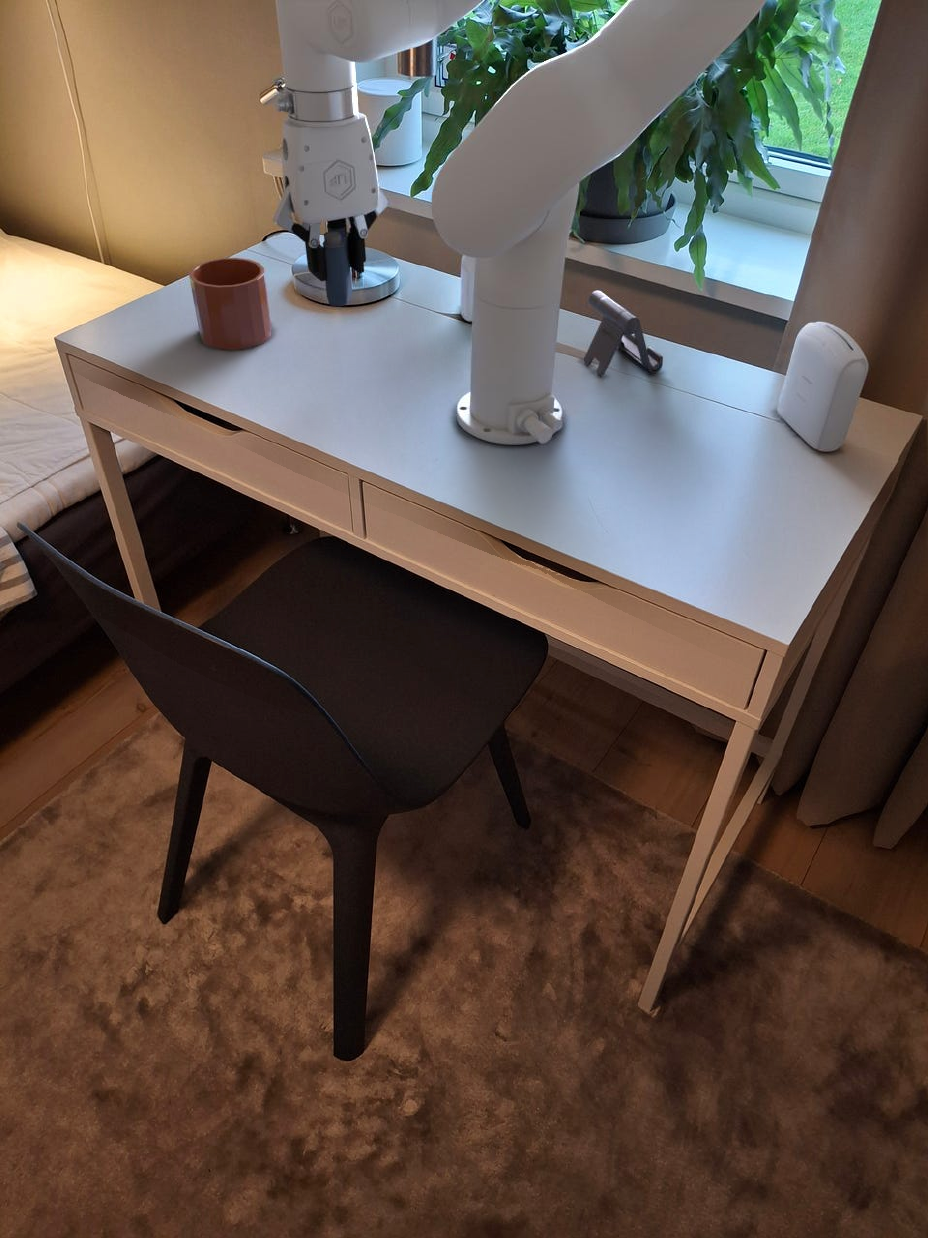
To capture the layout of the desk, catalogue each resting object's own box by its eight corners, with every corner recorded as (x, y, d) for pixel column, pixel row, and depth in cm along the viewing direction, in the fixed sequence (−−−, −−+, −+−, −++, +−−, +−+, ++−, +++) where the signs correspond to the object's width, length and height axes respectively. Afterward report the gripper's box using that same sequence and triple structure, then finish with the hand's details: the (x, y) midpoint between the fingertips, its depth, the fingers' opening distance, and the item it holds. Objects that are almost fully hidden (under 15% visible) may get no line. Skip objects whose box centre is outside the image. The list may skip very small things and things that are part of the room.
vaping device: (354, 290, 115) (346, 188, 107) (346, 307, 111) (337, 203, 103) (334, 289, 115) (325, 188, 107) (325, 306, 111) (315, 202, 104)
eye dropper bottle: (450, 318, 129) (451, 231, 121) (466, 303, 133) (468, 217, 125) (479, 324, 128) (482, 237, 120) (494, 309, 132) (498, 223, 124)
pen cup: (282, 340, 124) (274, 278, 118) (214, 355, 120) (203, 292, 114) (257, 313, 130) (248, 252, 124) (191, 327, 126) (180, 265, 120)
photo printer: (770, 410, 113) (797, 313, 105) (801, 406, 114) (830, 310, 105) (813, 455, 106) (846, 355, 97) (847, 451, 106) (882, 351, 98)
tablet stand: (662, 372, 119) (673, 310, 114) (610, 384, 117) (619, 321, 111) (625, 344, 125) (634, 283, 120) (575, 354, 123) (581, 293, 117)
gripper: (260, 122, 93) (284, 298, 106) (408, 101, 100) (414, 270, 112) (235, 105, 98) (260, 276, 111) (377, 86, 105) (386, 250, 117)
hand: (337, 271), depth 111 cm, fingers closed on vaping device, 4 cm apart
